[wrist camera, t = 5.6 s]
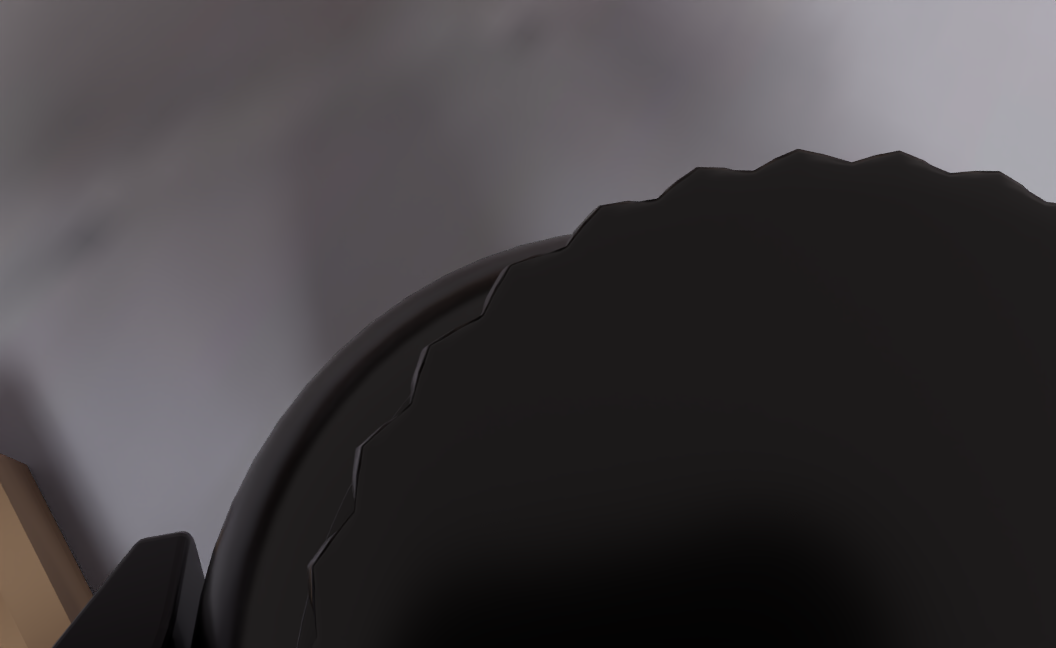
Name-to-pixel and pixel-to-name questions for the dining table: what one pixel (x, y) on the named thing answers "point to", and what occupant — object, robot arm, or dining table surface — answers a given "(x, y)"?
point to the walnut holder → (34, 566)
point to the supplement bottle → (683, 434)
